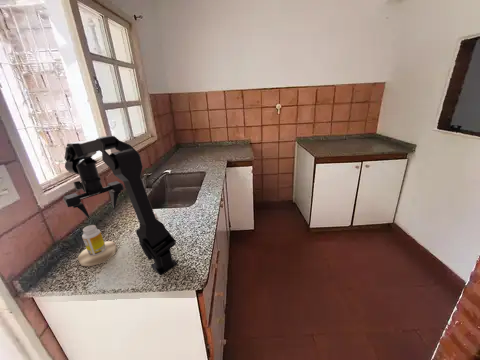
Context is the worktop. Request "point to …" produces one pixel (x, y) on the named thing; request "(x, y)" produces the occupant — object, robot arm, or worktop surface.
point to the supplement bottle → (93, 240)
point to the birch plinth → (97, 259)
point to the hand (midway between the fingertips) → (101, 212)
